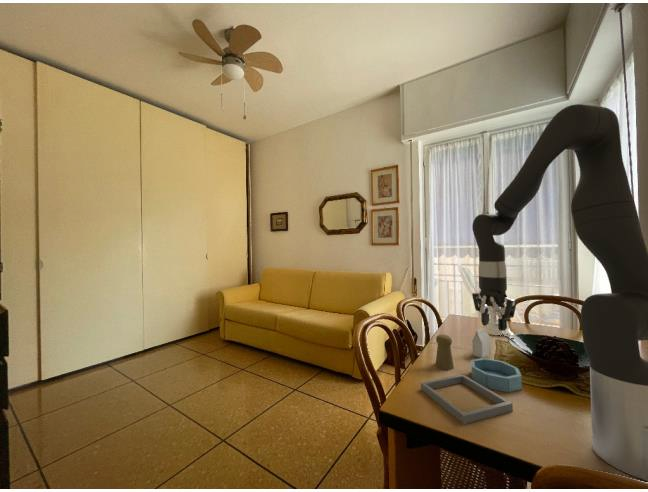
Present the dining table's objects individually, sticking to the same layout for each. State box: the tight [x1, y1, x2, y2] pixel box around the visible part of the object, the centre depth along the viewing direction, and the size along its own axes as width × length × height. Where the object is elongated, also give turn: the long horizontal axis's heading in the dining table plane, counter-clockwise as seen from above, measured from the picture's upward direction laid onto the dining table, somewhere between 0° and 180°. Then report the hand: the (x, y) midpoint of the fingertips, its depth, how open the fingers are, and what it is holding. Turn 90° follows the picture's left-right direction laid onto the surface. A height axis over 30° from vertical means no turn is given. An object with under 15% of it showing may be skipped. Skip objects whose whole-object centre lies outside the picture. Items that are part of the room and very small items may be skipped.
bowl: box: [470, 357, 523, 393], centre depth 80 cm, size 13×13×4 cm
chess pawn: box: [484, 306, 503, 336], centre depth 80 cm, size 5×5×9 cm
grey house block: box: [471, 327, 492, 359], centre depth 99 cm, size 4×7×10 cm, turn 122°
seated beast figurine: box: [491, 316, 515, 337], centre depth 121 cm, size 10×9×12 cm
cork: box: [435, 334, 454, 371], centre depth 91 cm, size 6×6×11 cm
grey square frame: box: [420, 374, 514, 425], centre depth 70 cm, size 16×16×2 cm
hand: (493, 327), depth 80 cm, fingers closed on chess pawn, 5 cm apart
